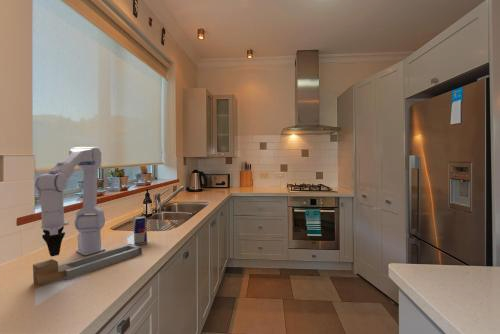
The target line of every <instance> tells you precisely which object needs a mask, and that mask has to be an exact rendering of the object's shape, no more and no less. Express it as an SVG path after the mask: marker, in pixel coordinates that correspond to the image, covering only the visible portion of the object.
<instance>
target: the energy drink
mask: <svg viewBox="0 0 500 334" xmlns="http://www.w3.org/2000/svg"><path fill="white" fill-rule="evenodd" d="M132 223H133V242H134V243H133V245H136V246H143V245H145V244H147V243H148V232H147V229H148V228H147V218H146V216H145V215H140V216H135V217H134V218H133V222H132Z"/></svg>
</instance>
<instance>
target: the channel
mask: <svg viewBox="0 0 500 334" xmlns="http://www.w3.org/2000/svg"><path fill="white" fill-rule="evenodd" d="M142 254H143V247H142V246H140V245H135V244H133V243H127V244H124V245H122V246H117V247H115V248H111V249H108V250H103V251H100V252H96V253H93V254H90V255H86V256H84V257H80V258H78V259H75V260H71V261H68V262H65V263H61V264H58V267H61V266H64V265H67V266H70V267H72V268H71V269H68V270H65V273H66V278H65V279H67V280H69V279H73V278H75V277H78V276H81V275H84V274H87V273H89V272H92V271H95V270H98V269H101V268H103V267H107V266H110V265H113V264H116V263H118V262H122V261H124V260H127V259H130V258H133V257H136V256H139V255H142Z"/></svg>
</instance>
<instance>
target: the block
mask: <svg viewBox="0 0 500 334" xmlns="http://www.w3.org/2000/svg"><path fill="white" fill-rule="evenodd" d="M58 265H59V262H58V261H57V260H55V259H53V258H50V259H47V260H43V261H41V262H40V261H39V262H37V263H34V264H32V275H33V276H32V277H33V278H32V279H33V284H34V285H36V286H37V287H39V288H40V287H44V286H46V285H49V284H51V283H52V284H53V283H54V282H57V281H60V280H63V279H67V278H66V273H65V270H68V269H71V268H72V267H70V266H67V265H64V266H61V267H58Z"/></svg>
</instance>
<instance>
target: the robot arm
mask: <svg viewBox="0 0 500 334" xmlns="http://www.w3.org/2000/svg"><path fill="white" fill-rule="evenodd" d="M76 166H77V168H80V169H82V170H83V186H82V187H83V190H82V191H83V192H82V208H81V209H79V210H77V212H76V213H75V214H76V215H75V219H74V228H75V230H77V231H78V234H77V249H76V250H75V252H77V253H79V254H81V255H83V256H90V255H93V254H97V253H100V252H104V251H106V248H105V247H103V246H102V237H101V236H102V235H101V234H102V233H101V232H102V231H101V230H102V229H103V228H104V226H105V224H106V217H105V211H104V210H103V209H101V208H100V207H99V206H98V205H97V204H98V203H97V201H98V200H97V199H98V197H97V196H98V168H100V167H101V166H102V152H101V150H100V148H99V146H72V147H71V148H70V149H69V152H68V156H67V158H66V159H65V160H64V161H58V162H57V163H56V164H55V165H54V167H52V168H50V170H49V171H48V172H47V173H46V174H41V175H39V176H37V178H36V179H35V184H34V186H35V187H34V188H35V190H36V191H37V195H38V198H40V210H41V227H40V228H41V229H42V232H43V233H44V234H42V236H41V238H42V239H43V241H44V242H45V244H46V246H47V250H48V253H49V256H50V257H56V256H59V255H60V253H61V248H62V247H61V246H62V242H63V239H64V237H65V235H66V232H63V231H64V229H65V226H67V225H69V224H70V223H69V221H65V213H64V212H65V210H64V209H65V208H64V191H65V190H66V189H67V185H68V182H69V179H70V177H71V176H72V175H73V174H74V173H75V168H76Z"/></svg>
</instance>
